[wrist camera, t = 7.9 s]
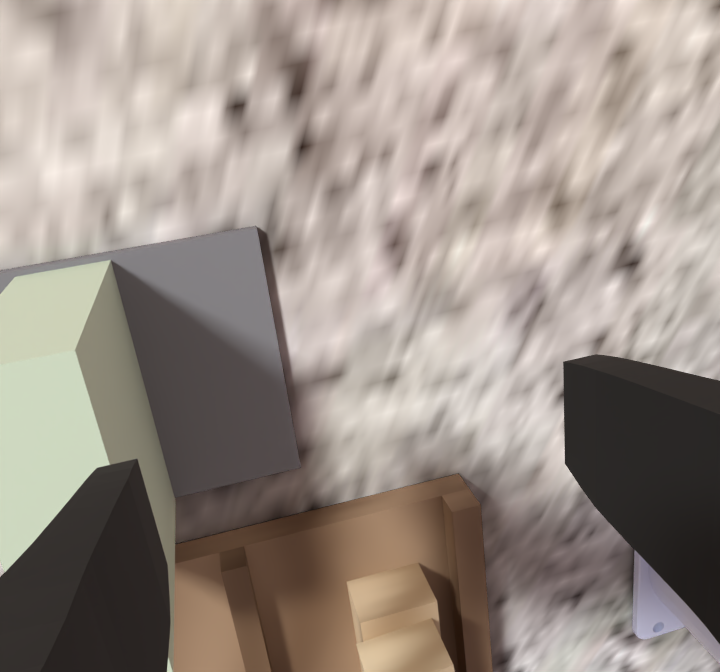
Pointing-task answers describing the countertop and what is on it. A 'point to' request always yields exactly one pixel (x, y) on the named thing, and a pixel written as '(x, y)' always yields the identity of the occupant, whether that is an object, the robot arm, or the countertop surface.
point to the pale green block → (72, 405)
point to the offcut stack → (397, 622)
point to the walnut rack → (329, 582)
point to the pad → (204, 355)
